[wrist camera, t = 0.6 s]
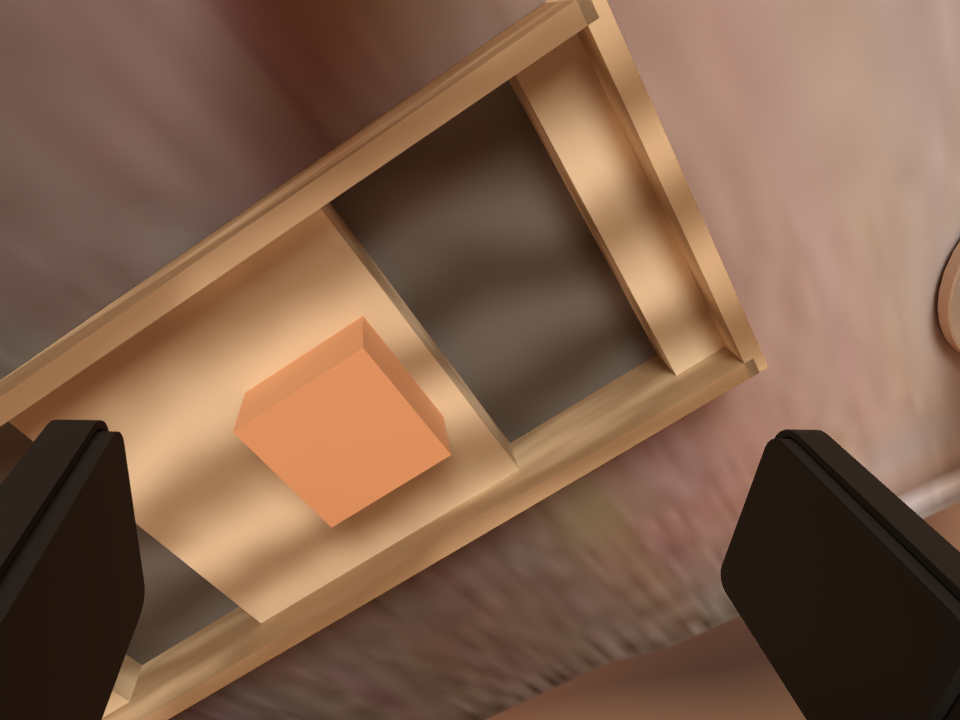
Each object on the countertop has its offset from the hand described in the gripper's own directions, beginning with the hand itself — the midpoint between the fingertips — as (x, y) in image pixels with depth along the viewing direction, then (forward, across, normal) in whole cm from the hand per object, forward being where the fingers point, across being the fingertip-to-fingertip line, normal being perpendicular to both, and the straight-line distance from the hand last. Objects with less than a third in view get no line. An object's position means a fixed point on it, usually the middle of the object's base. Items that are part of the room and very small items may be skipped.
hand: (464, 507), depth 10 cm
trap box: (+25, +5, +14) cm, 29 cm away
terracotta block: (+22, +2, +11) cm, 24 cm away
